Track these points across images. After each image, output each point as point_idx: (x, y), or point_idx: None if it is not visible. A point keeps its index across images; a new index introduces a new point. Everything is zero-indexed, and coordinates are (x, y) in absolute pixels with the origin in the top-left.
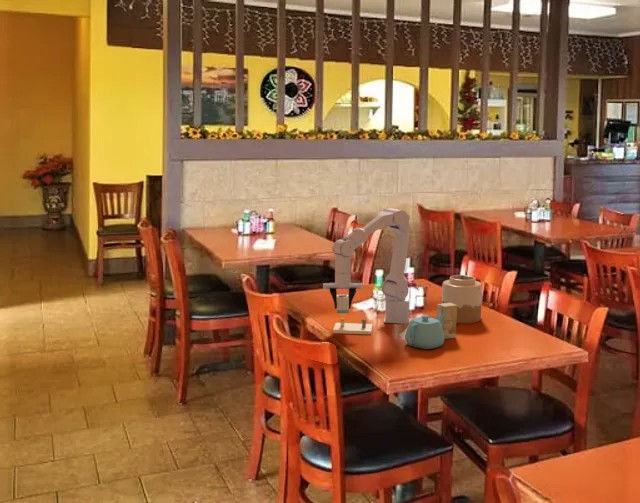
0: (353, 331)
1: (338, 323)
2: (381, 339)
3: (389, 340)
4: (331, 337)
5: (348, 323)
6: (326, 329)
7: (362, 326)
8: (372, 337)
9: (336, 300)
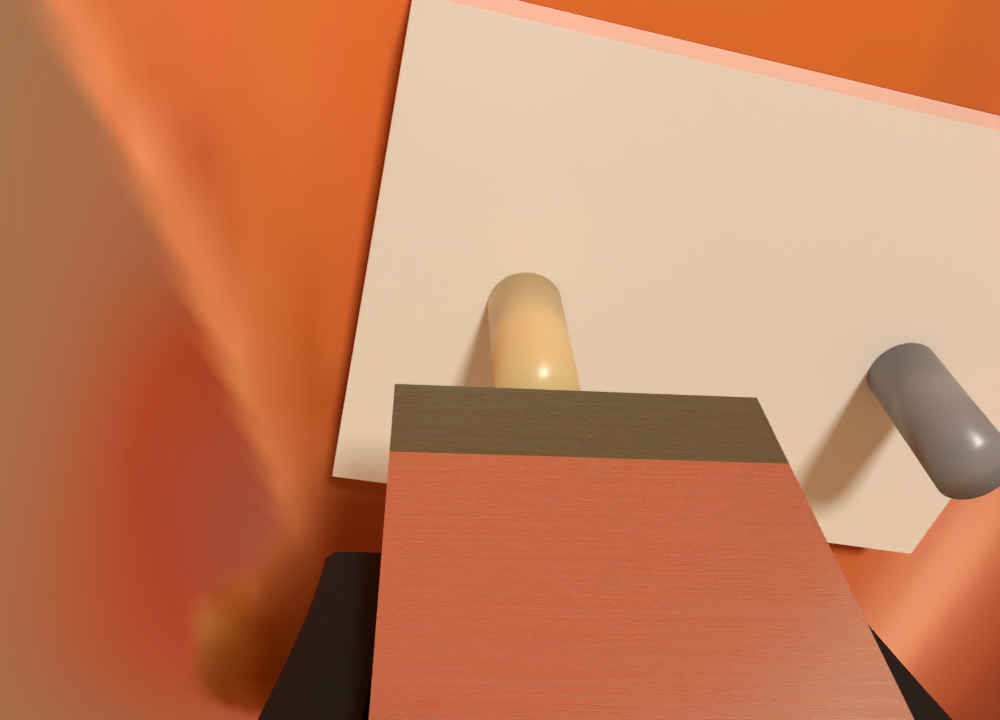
0: None
1: (470, 70)
2: (916, 668)
3: (984, 694)
4: (312, 600)
5: (702, 92)
6: (211, 237)
7: (877, 400)
8: None
9: (372, 671)
